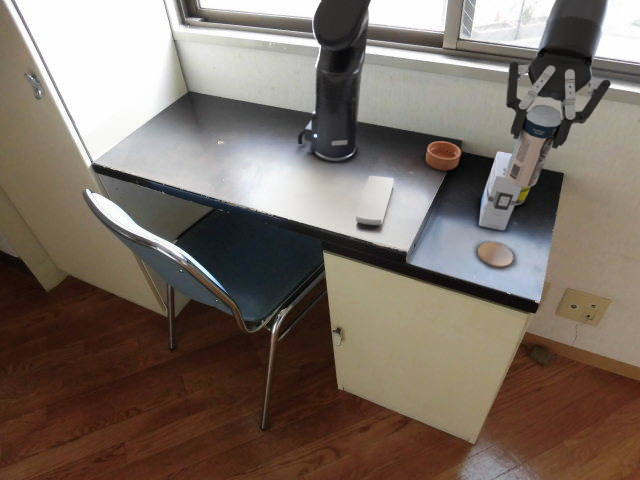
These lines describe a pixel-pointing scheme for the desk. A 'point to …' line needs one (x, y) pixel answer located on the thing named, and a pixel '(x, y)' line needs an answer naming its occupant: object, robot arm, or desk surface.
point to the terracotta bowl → (443, 155)
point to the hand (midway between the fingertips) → (535, 141)
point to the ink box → (498, 195)
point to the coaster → (495, 254)
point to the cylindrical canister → (533, 145)
